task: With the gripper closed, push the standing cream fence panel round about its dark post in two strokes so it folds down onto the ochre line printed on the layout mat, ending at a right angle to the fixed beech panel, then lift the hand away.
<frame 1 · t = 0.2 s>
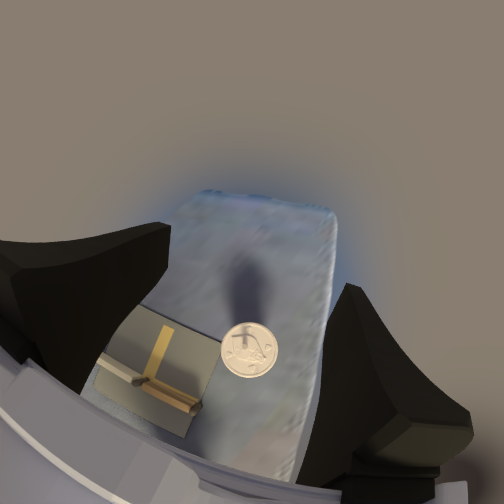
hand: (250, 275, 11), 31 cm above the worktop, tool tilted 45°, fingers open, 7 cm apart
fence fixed: (147, 380, 38), resting on layout mat
smoothie: (249, 349, 40), on the worktop
fence panel: (113, 365, 36), point 3 cm above the worktop, hinge at 90.0°
layout mat: (153, 369, 39), on the worktop
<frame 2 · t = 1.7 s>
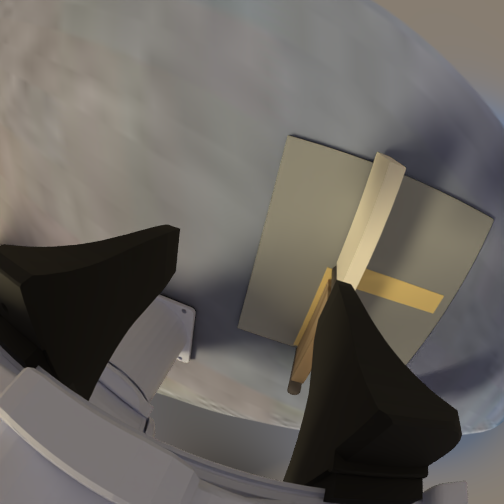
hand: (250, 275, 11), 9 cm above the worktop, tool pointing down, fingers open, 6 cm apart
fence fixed: (338, 269, 20), resting on layout mat
fence panel: (367, 223, 16), point 3 cm above the worktop, hinge at 90.0°
layout mat: (362, 279, 20), on the worktop
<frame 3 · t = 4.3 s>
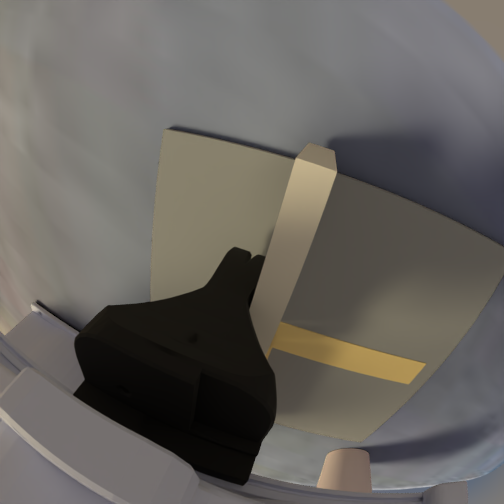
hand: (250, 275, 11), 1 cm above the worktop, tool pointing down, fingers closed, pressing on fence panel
smoothie: (347, 454, 19), on the worktop
fence panel: (280, 273, 9), point 3 cm above the worktop, hinge at 89.0°, touching gripper
layout mat: (298, 340, 14), on the worktop
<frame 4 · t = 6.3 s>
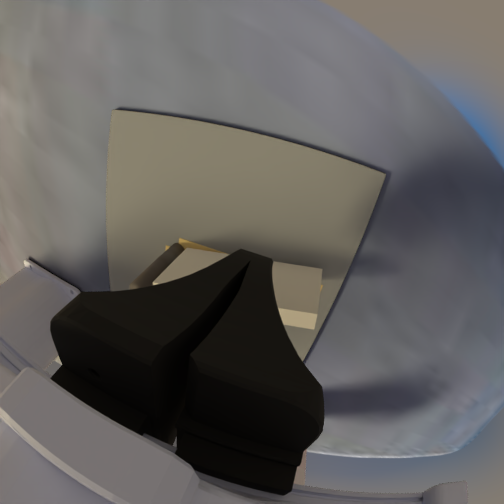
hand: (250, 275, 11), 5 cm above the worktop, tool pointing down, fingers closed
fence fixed: (180, 248, 18), resting on layout mat
fence panel: (241, 283, 15), point 3 cm above the worktop, hinge at 10.7°
layout mat: (208, 260, 18), on the worktop
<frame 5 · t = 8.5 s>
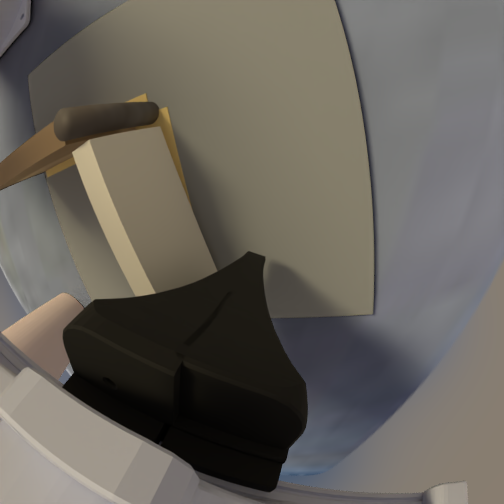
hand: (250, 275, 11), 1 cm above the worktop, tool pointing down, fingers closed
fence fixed: (153, 112, 11), resting on layout mat
smoothie: (75, 312, 19), on the worktop
fence panel: (162, 239, 10), point 3 cm above the worktop, hinge at 7.9°, touching gripper
layout mat: (159, 157, 11), on the worktop
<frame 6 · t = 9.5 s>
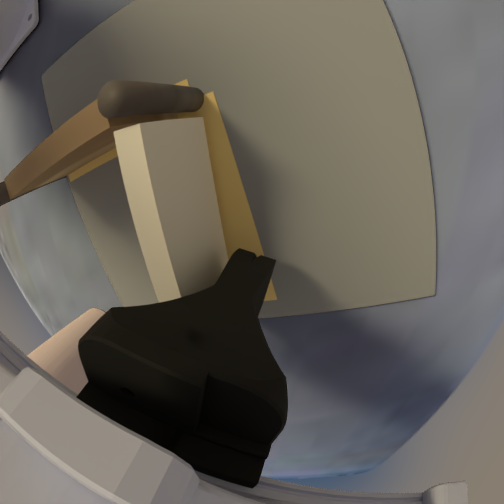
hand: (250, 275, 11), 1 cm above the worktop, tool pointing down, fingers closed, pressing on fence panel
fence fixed: (195, 99, 10), resting on layout mat
smoothie: (107, 327, 18), on the worktop
fence panel: (188, 239, 10), point 3 cm above the worktop, hinge at -8.7°, touching gripper
layout mat: (205, 147, 11), on the worktop
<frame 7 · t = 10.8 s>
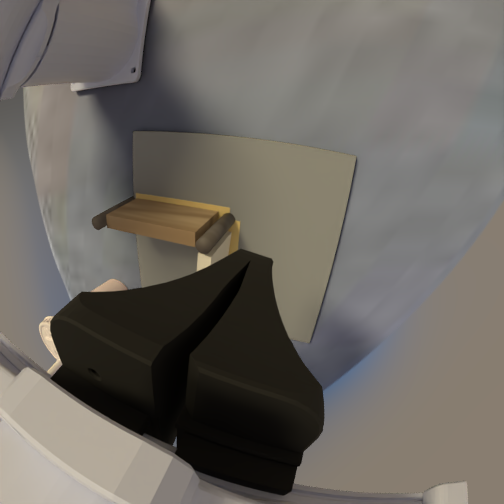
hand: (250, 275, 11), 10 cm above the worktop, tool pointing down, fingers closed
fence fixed: (229, 217, 21), resting on layout mat
smoothie: (119, 292, 29), on the worktop
fence panel: (210, 289, 21), point 3 cm above the worktop, hinge at -3.7°
layout mat: (225, 241, 22), on the worktop
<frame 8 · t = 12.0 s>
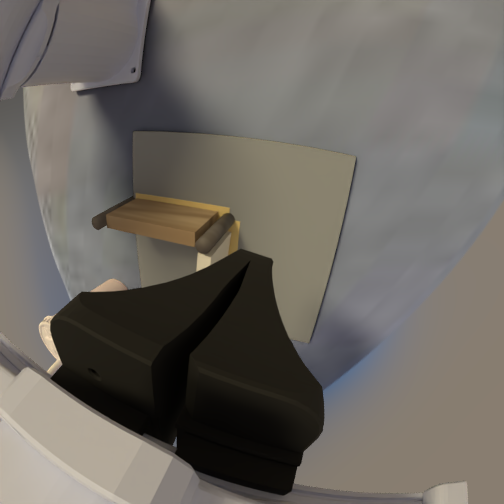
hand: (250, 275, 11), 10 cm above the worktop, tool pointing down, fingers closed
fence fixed: (229, 217, 21), resting on layout mat
smoothie: (119, 292, 29), on the worktop
fence panel: (210, 289, 21), point 3 cm above the worktop, hinge at -3.7°
layout mat: (225, 241, 22), on the worktop
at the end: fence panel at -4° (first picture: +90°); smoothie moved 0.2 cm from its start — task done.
